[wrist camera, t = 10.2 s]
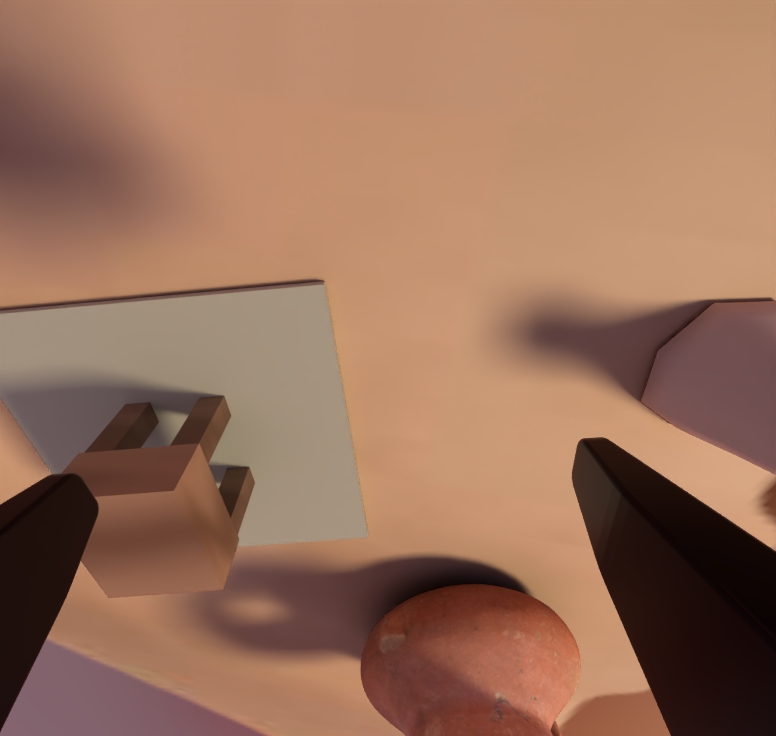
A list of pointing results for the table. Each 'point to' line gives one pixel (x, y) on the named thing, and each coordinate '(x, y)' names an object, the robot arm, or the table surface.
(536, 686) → the ceramic jug
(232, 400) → the sage mat
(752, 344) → the flask
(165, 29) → the table surface
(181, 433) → the walnut stool
